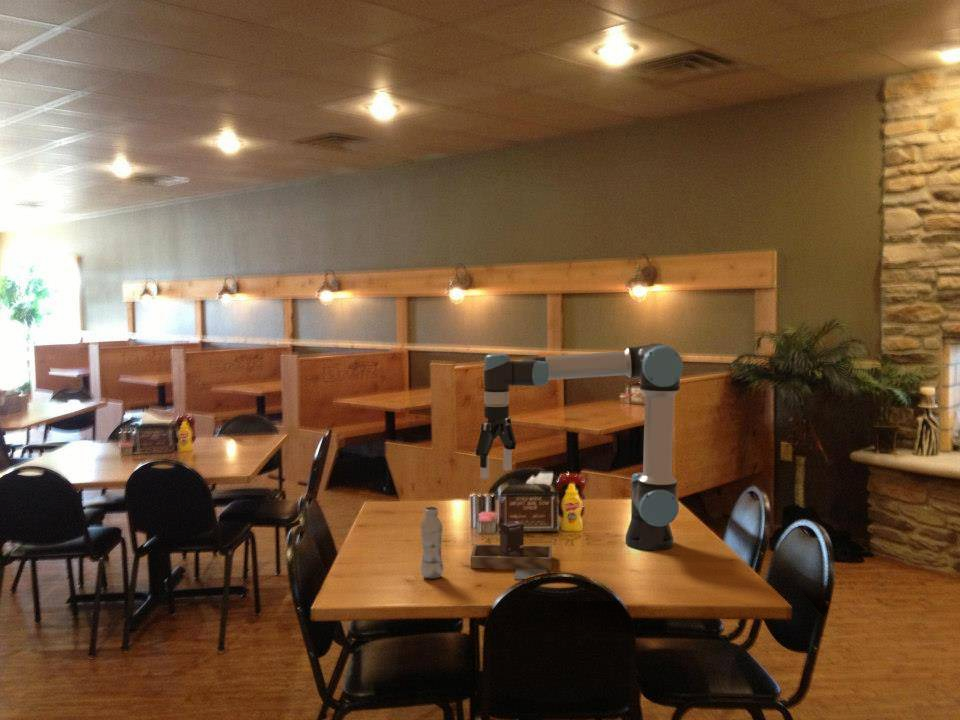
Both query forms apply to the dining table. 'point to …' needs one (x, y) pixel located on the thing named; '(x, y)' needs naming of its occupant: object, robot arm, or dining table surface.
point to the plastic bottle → (431, 544)
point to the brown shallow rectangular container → (531, 557)
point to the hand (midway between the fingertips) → (496, 474)
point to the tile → (527, 572)
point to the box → (511, 539)
